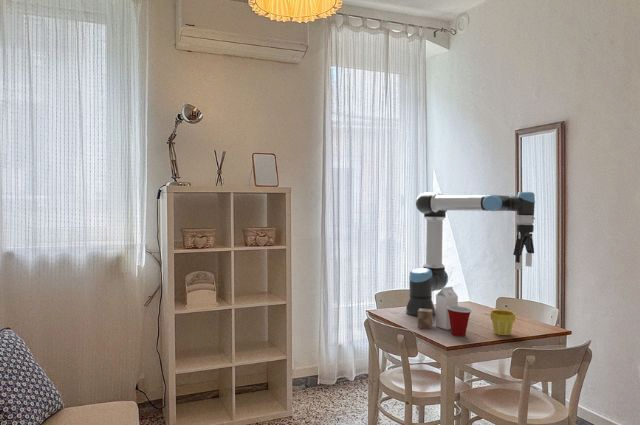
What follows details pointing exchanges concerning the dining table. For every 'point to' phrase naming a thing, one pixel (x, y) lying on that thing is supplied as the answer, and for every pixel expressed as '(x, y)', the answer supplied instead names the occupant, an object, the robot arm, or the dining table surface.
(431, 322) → the walnut block
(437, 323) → the milk carton
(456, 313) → the plastic cup
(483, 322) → the dining table surface
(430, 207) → the robot arm
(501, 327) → the plant pot
